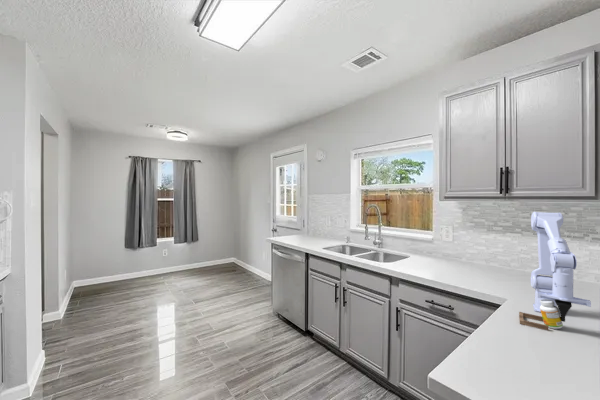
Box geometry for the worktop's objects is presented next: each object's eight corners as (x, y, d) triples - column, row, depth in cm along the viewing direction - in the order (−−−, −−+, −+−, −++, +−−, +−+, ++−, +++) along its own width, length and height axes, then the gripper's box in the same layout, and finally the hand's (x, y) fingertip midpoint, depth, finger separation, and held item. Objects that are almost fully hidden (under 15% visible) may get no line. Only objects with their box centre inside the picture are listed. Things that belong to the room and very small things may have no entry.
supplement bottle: (544, 322, 108) (537, 298, 109) (562, 323, 104) (555, 298, 105) (545, 328, 104) (537, 302, 105) (564, 329, 100) (556, 303, 101)
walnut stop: (519, 315, 115) (519, 311, 114) (545, 321, 109) (545, 317, 109) (519, 324, 106) (519, 320, 106) (548, 330, 101) (548, 326, 101)
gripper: (538, 283, 104) (538, 318, 103) (593, 291, 95) (593, 330, 94) (536, 279, 109) (536, 313, 109) (588, 286, 100) (588, 323, 100)
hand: (562, 320), depth 102 cm, fingers closed, pressing on supplement bottle
